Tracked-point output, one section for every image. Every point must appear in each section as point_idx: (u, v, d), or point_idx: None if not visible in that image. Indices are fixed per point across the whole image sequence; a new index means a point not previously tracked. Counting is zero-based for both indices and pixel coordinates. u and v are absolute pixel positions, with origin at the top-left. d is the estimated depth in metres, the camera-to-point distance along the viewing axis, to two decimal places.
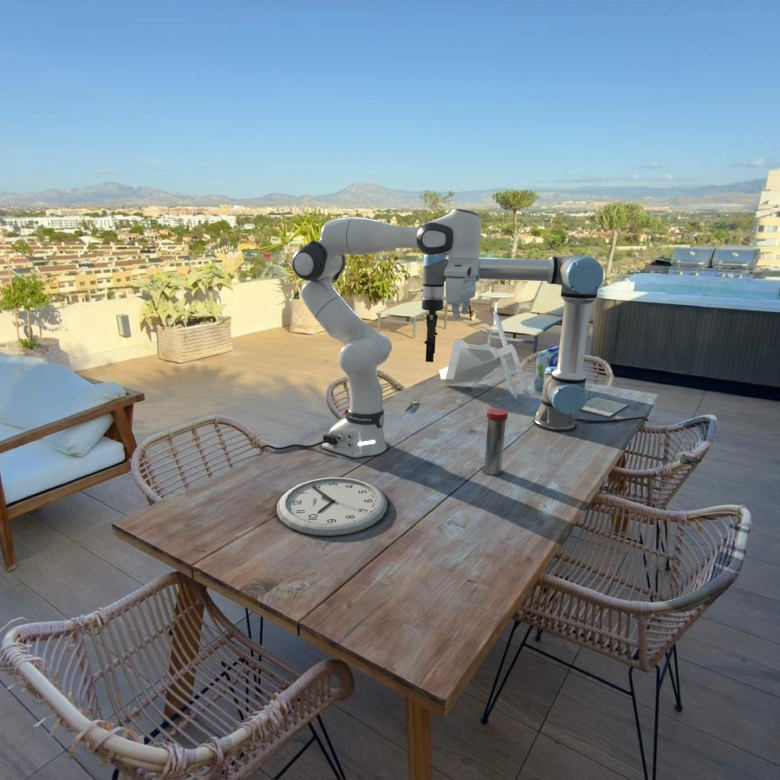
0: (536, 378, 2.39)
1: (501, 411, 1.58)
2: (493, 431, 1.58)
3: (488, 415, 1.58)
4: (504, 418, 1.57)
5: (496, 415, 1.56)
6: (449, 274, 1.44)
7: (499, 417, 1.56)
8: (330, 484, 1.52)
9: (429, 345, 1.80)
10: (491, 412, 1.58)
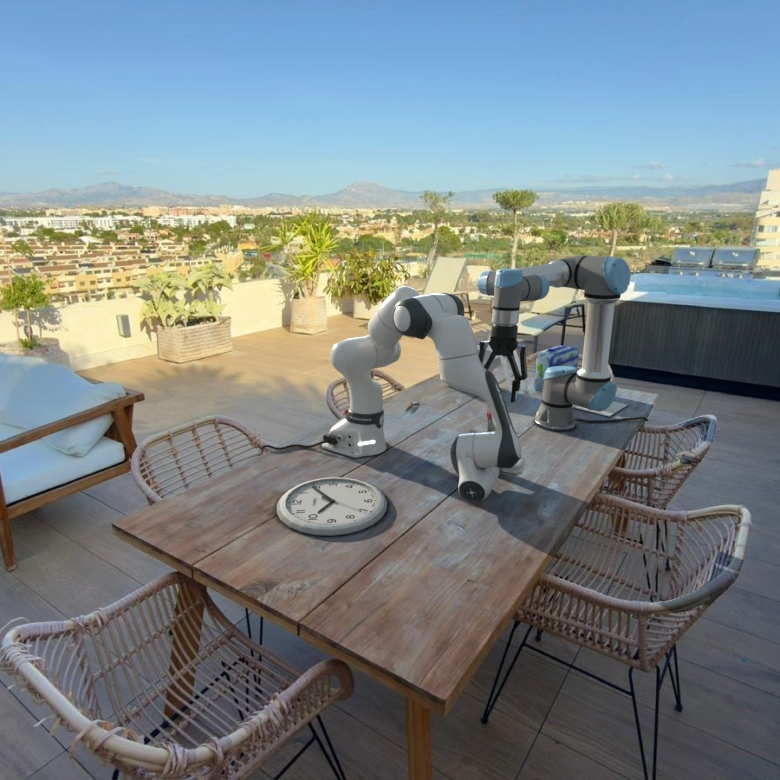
0: (536, 378, 2.39)
1: None
2: None
3: (488, 415, 1.58)
4: None
5: None
6: None
7: None
8: (330, 484, 1.52)
9: None
10: None
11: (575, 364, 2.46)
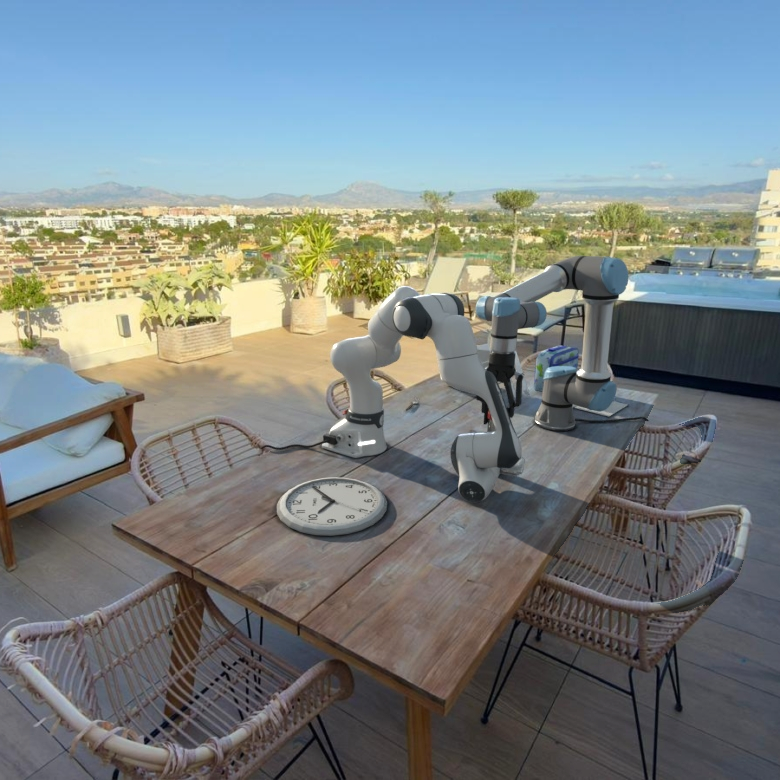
0: (536, 378, 2.39)
1: None
2: None
3: (488, 415, 1.58)
4: None
5: None
6: None
7: None
8: (330, 484, 1.52)
9: None
10: None
11: (575, 364, 2.46)
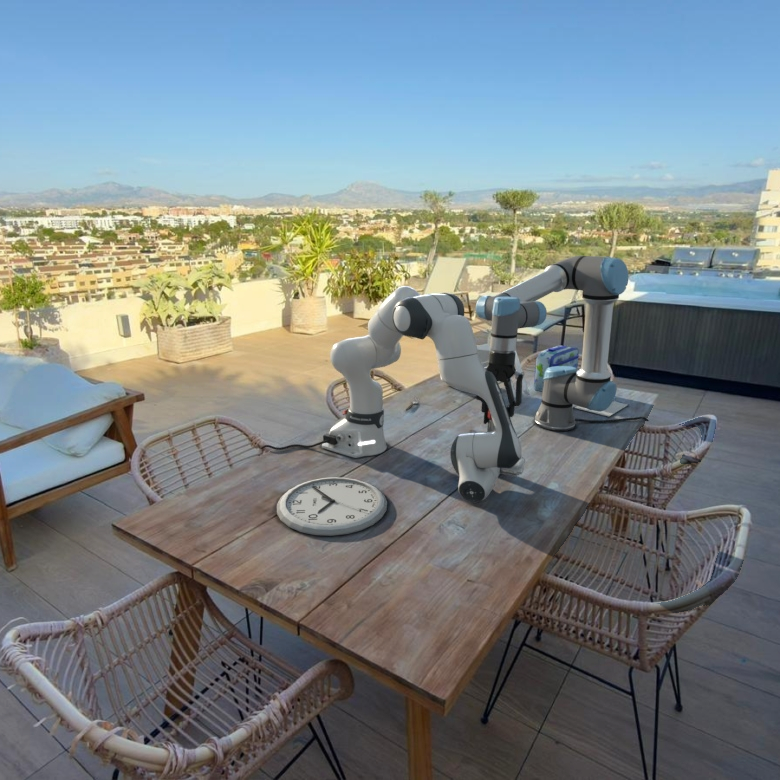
0: (536, 378, 2.39)
1: None
2: None
3: None
4: None
5: None
6: None
7: None
8: (330, 484, 1.52)
9: None
10: None
11: (575, 364, 2.46)
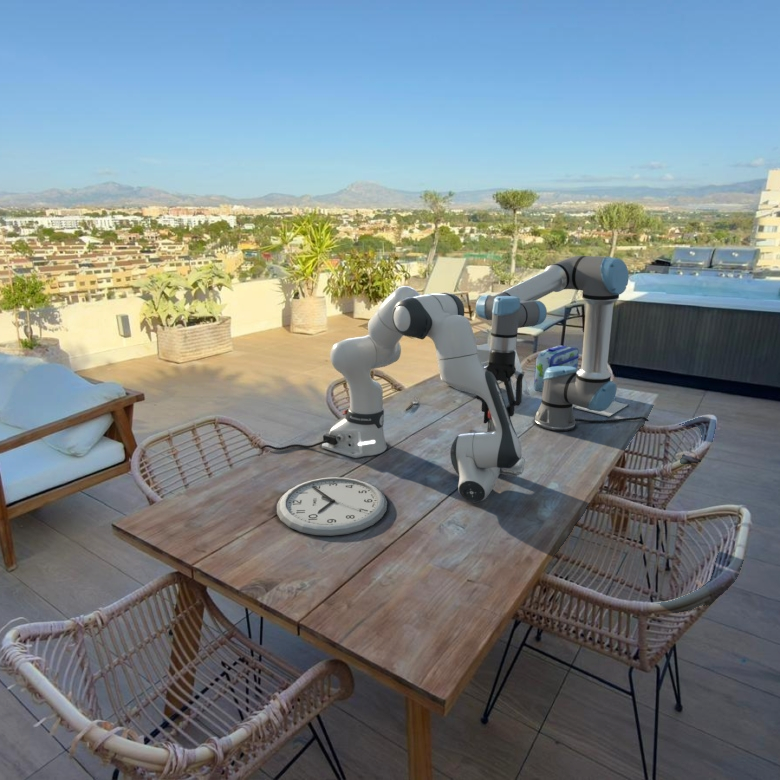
0: (536, 378, 2.39)
1: None
2: None
3: None
4: (487, 414, 1.59)
5: None
6: None
7: None
8: (330, 484, 1.52)
9: None
10: None
11: (575, 364, 2.46)
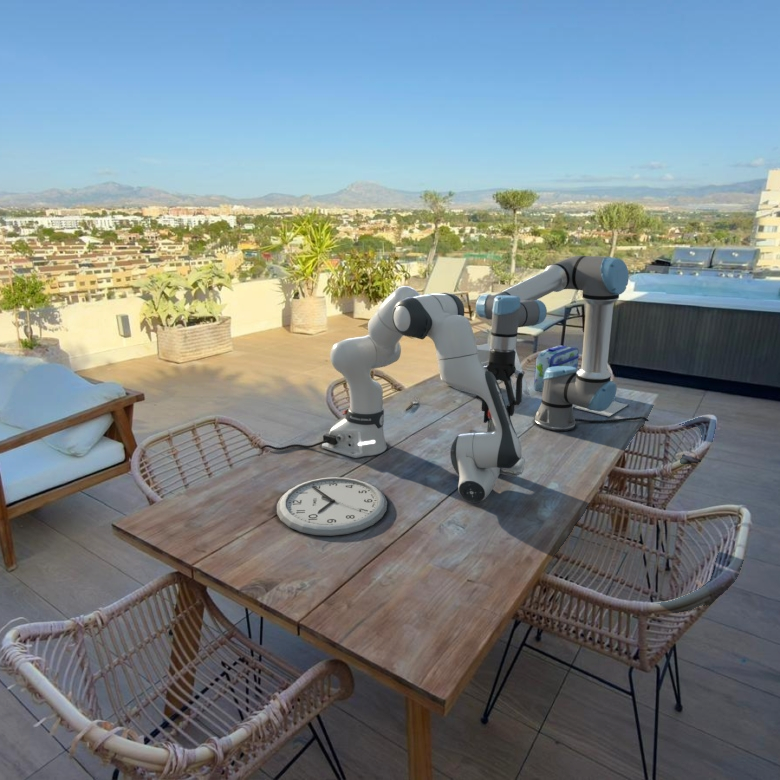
0: (536, 378, 2.39)
1: None
2: None
3: (488, 413, 1.58)
4: None
5: None
6: None
7: None
8: (330, 484, 1.52)
9: None
10: None
11: (575, 364, 2.46)
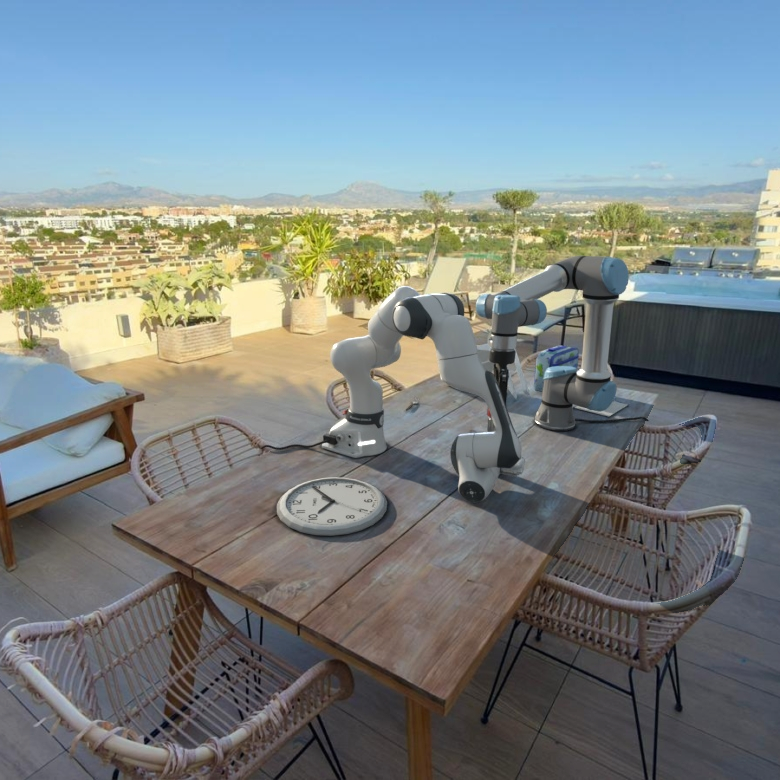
0: (536, 378, 2.39)
1: None
2: None
3: None
4: None
5: None
6: None
7: None
8: (330, 484, 1.52)
9: None
10: None
11: (575, 364, 2.46)
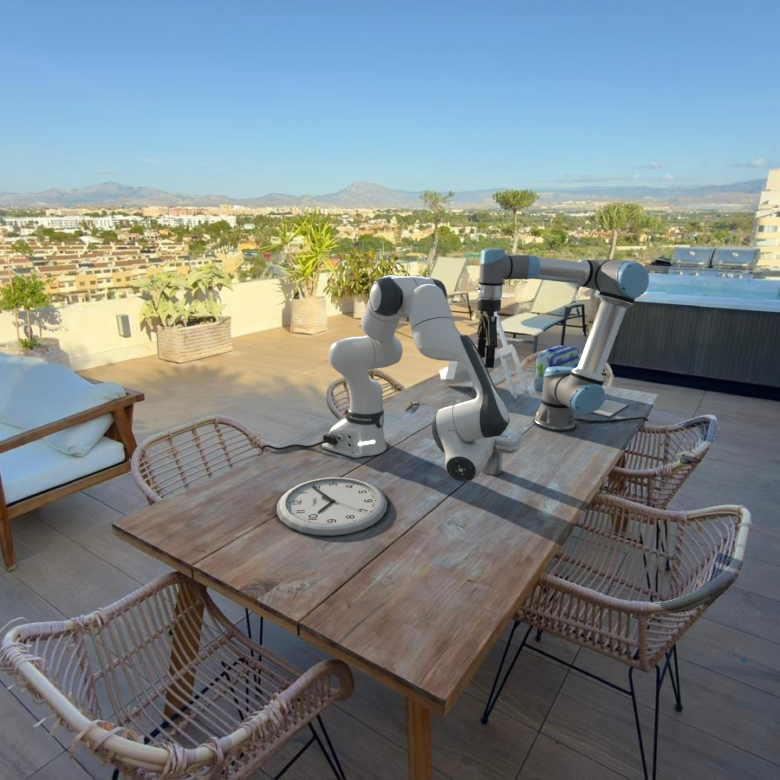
0: (536, 378, 2.39)
1: None
2: None
3: None
4: None
5: None
6: None
7: None
8: (330, 484, 1.52)
9: (491, 349, 1.65)
10: None
11: (575, 364, 2.46)
